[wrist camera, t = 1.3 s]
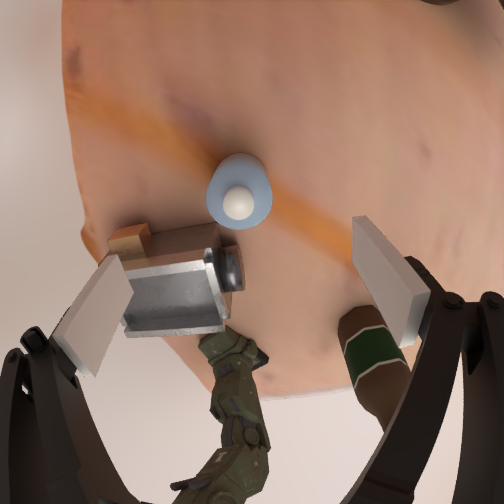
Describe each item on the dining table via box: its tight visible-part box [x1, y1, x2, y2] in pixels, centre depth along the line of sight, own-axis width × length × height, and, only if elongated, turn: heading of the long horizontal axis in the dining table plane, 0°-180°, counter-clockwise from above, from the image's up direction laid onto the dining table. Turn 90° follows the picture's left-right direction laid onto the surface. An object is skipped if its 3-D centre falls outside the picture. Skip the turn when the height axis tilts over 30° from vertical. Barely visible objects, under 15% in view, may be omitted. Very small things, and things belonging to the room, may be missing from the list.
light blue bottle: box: [206, 153, 273, 230], centre depth 25 cm, size 6×6×8 cm
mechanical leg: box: [170, 325, 271, 504], centre depth 29 cm, size 14×7×30 cm, turn 41°
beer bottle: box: [338, 305, 411, 433], centre depth 29 cm, size 8×8×24 cm
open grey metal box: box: [98, 222, 245, 338], centre depth 30 cm, size 15×11×8 cm
